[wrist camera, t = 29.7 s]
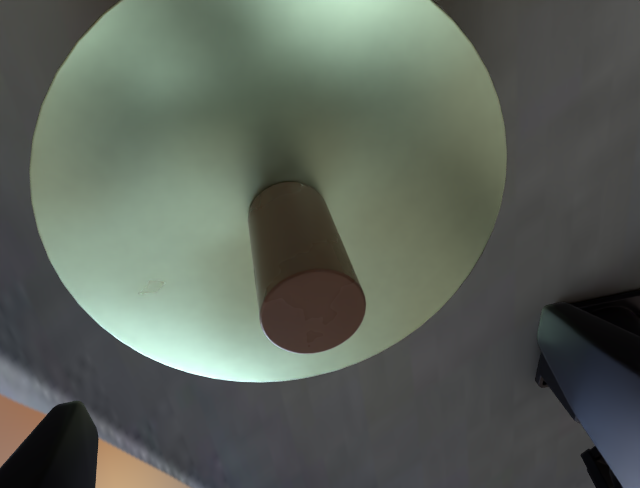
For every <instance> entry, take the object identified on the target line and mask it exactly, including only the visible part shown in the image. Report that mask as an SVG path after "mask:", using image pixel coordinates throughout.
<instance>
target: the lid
mask: <svg viewBox="0 0 640 488" xmlns="http://www.w3.org/2000/svg"><path fill="white" fill-rule="evenodd" d="M506 165H507V146H506V133H505V124H504V120H503V116H502V111H501V107H500V102H499V98H498V95H497V93H496V90H495V88H494V85H493V82H492V80H491V77H490V75H489V72H488V70H487V68H486V66H485V65H484V63H483V61H482V59H481V58H480V56H479V54H478V53H477V51H476V49H475V47H474V46H473V44H472V43H471V41H470V40H469V39H468V38H467V36H466V35H465V34H464V33H463V31H462V30H461V29H460V28H459V26H458V25H457V24H456V23H455V21H454V20H453V19H452V18H451V17H450V16H449V15H448V14H447V13H445V12H444V11H443V10H442V9H441V8H440V7H439V6H438V5H437V4H436V3H435V2H433V1H432V0H120V1H118V2H117V3H116V4H115V5H113V6H112V7H111V8H109V9H108V10H107V11H105V12H104V13H103V14H102V15H101V16H100V17H99V18H98V19H97V20H96V21H95V23H94V24H93V25H92V26H91V27H90V28H89V29H88V30H87V31H86V32H85V33H84V34H83V35H82V36H81V37H80V39H79V40H78V41H77V42H76V43H75V45H74V46H73V48H72V49H71V51H70V52H69V54H68V55H67V57H66V58H65V60H64V61H63V63H62V64H61V66H60V67H59V69H58V70H57V72H56V74H55V76H54V78H53V80H52V82H51V85H50V87H49V89H48V91H47V93H46V96H45V98H44V100H43V102H42V104H41V108H40V112H39V115H38V119H37V123H36V127H35V130H34V134H33V138H32V148H31V158H30V169H29V172H30V188H31V202H32V207H33V211H34V215H35V220H36V224H37V229H38V232H39V235H40V238H41V240H42V243H43V245H44V248H45V250H46V253H47V255H48V258H49V260H50V262H51V264H52V265H53V267H54V269H55V271H56V272H57V274H58V276H59V278H60V279H61V281H62V283H63V284H64V286H65V287H66V288H67V289H68V291H69V292H70V293H71V295H72V296H73V297H74V299H75V300H76V301H77V302H78V304H79V305H80V306H81V307H82V308H83V309H84V310H85V311H86V312H87V313H88V314H89V315H90V316H91V317H92V318H93V319H94V320H95V321H96V322H97V323H98V324H99V325H100V326H102V327H103V328H104V329H105V330H107V331H108V332H109V333H111V334H112V335H113V336H114V337H116V338H117V339H118V340H120V341H121V342H123V343H124V344H126V345H128V346H129V347H131V348H133V349H134V350H136V351H138V352H139V353H141V354H143V355H145V356H147V357H149V358H152V359H154V360H156V361H158V362H160V363H163V364H165V365H167V366H170V367H173V368H176V369H179V370H182V371H185V372H188V373H192V374H196V375H201V376H205V377H210V378H214V379H222V380H230V381H238V382H275V381H289V380H295V379H301V378H307V377H313V376H317V375H321V374H325V373H329V372H333V371H336V370H339V369H342V368H345V367H347V366H350V365H353V364H356V363H359V362H361V361H363V360H365V359H367V358H369V357H372V356H374V355H376V354H378V353H380V352H382V351H384V350H385V349H387V348H389V347H390V346H392V345H394V344H396V343H397V342H399V341H401V340H402V339H404V338H405V337H406V336H408V335H409V334H411V333H412V332H413V331H415V330H416V329H418V328H419V327H420V326H422V325H423V324H424V323H425V322H426V321H427V320H428V319H430V318H431V317H432V316H433V315H434V314H435V313H436V312H438V311H439V310H440V309H441V307H442V306H443V305H444V304H445V303H446V302H447V301H448V300H449V299H450V298H451V297H452V296H453V295H454V294H455V292H456V291H457V290H458V289H459V287H460V286H461V285H462V283H463V282H464V281H465V279H466V278H467V277H468V275H469V274H470V273H471V271H472V269H473V268H474V266H475V264H476V263H477V261H478V259H479V258H480V256H481V254H482V253H483V251H484V248H485V246H486V244H487V242H488V240H489V237H490V235H491V233H492V231H493V228H494V225H495V222H496V219H497V216H498V213H499V210H500V207H501V202H502V197H503V191H504V186H505V181H506Z"/></svg>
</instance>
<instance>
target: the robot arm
mask: <svg viewBox="0 0 640 488" xmlns="http://www.w3.org/2000/svg"><path fill="white" fill-rule="evenodd" d="M537 341H538V345H539V347H540V349H541V355H540V360H539V364H538V369H537V374H536V378H535V381H536V382H537V384H538V385H539V386H540V387H541V388H545V387H550V389H551V390H552V391H553V393H554V394H555V395H556V397H557V398H558V399H559V401H560V402H561V403H562V405H563V406H564V407H565V409H566V410H567V411H568V413H569V414H570V415H571V417H572V418H573V419H574V421H576V422H577V423H581V425H582V426H583V428H584V429H585V431H586V432H587V434H588V435H589V437H590V438H591V440H592V441H593V443H594V444H595V446H594V447H593V448H592V449H587V450H586V451H585V452H583V453H582V454H581V457H582V459H583V461H584V463H585V465H586V467H587V471H588V473H589V475H590V477H591V479H592V481H593V483H594V485H595V487H596V488H640V290H639V291H634V292H629V293H624V294H620V295H615V296H610V297H605V298H600V299H595V300H590V301H585V302H580V303H575V304H568V303H565V302H560V303H555V304H550V305H546V306H545V307H544V308H543V309H542V313H541V318H540V323H539V328H538V333H537ZM97 453H98V432H97V429H96V426H95V425H94V423H93V421H92V419H91V417H90V415H89V413H88V412H87V410H86V408H85V406H84V405H83V403H82V402H80V401H73V402H68V403H63V404H59V405H56V406H55V407H54V408H53V409H52V410H51V411H50V412H49V413H48V414H47V415H46V417H45V418H44V419H43V420H42V421H41V422H40V423H39V425H38V426H37V427H36V428H35V429H34V430H33V431H32V432H31V434H30V435H29V436H28V437H27V438H26V439H25V440H24V442H23V443H22V444H21V445H20V446H19V447H18V448H17V449H16V451H15V452H14V453H13V454H12V455H11V456H10V457H9V459H8V460H7V461H6V462H5V463H4V464H3V465H2V467H1V468H0V488H95V483H96V467H97Z"/></svg>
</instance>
